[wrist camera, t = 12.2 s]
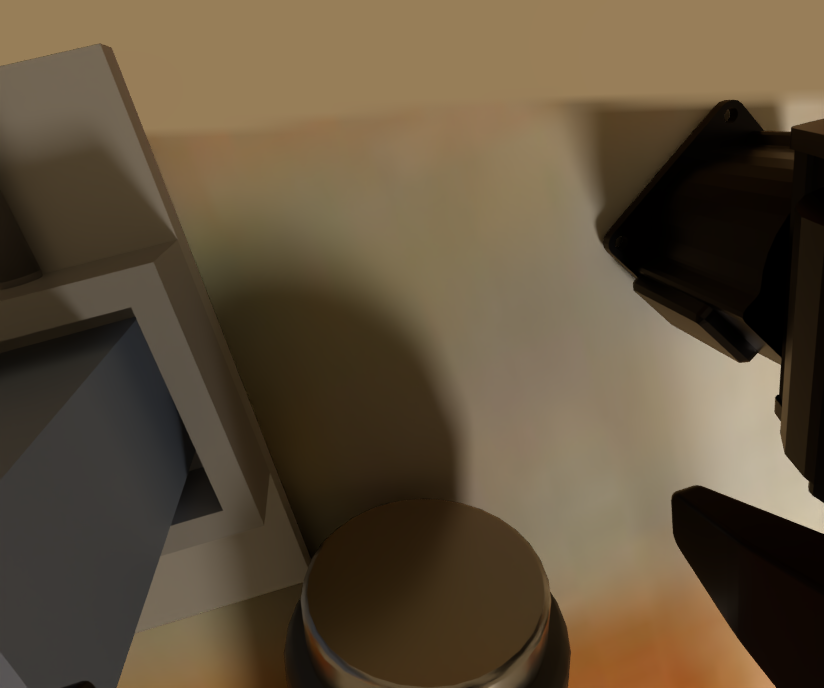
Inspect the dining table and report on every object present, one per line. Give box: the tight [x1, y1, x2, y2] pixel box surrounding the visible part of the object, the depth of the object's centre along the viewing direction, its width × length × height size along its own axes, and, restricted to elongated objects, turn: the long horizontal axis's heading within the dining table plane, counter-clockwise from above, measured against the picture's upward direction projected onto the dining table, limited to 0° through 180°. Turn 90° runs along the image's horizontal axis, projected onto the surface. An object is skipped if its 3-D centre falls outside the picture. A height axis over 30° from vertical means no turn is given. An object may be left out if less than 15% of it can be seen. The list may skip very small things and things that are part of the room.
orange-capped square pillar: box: [0, 317, 196, 688], centre depth 13 cm, size 5×5×13 cm
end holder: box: [0, 44, 311, 634], centre depth 18 cm, size 9×20×4 cm, turn 12°
